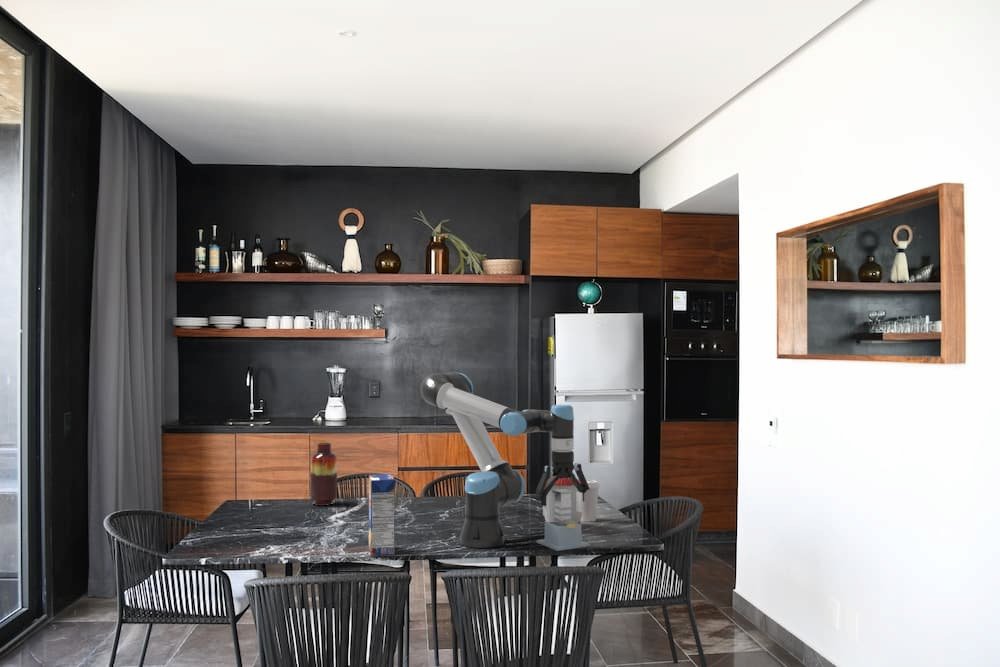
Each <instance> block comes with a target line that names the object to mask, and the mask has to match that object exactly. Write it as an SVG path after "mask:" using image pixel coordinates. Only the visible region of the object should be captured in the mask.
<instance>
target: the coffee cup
mask: <svg viewBox="0 0 1000 667" xmlns="http://www.w3.org/2000/svg"><path fill="white" fill-rule="evenodd" d="M586 481H587V483H588V486H589V490H586V493H584V502H583V513H582V517H581V522H585V521H586V522H588V523H590V522H591V521H592V522H596V521H597V513H598V512H597V511H598V502H599V501H598V500H599V489H600V487H601V486H600V483H599V481H598V480H595V479H586Z"/></svg>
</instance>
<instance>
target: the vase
mask: <svg viewBox="0 0 1000 667" xmlns="http://www.w3.org/2000/svg"><path fill="white" fill-rule="evenodd" d="M337 496H338V456H337V455H336V453H334V452H332V442H328V441H326V442H317V445H316V453H314V454H312V456H311V457H310V499H311V500H312V501H313V502H312V505H313V504H317V505H326V504H331V503H334V504H335V501H334V500H336V499H337Z"/></svg>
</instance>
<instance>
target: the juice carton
mask: <svg viewBox="0 0 1000 667" xmlns="http://www.w3.org/2000/svg"><path fill="white" fill-rule="evenodd" d="M395 509H396V479H395V477H394V475H393V474H391V473H387V474H385V473H384V474H369V475H368V550H370V551H369V554H370V553H371V554H370V556H371V557H378V556H381V557H383V556H395V552H396V551H395V550H396V549H395V535H396V534H395V532H396V531H395V529H396V527H395V526H396V521H395V519H396V514H395V513H396V512H395V511H396V510H395Z"/></svg>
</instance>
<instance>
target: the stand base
mask: <svg viewBox="0 0 1000 667" xmlns="http://www.w3.org/2000/svg"><path fill="white" fill-rule="evenodd" d="M554 524H555V521H552V522H546V521H545V522H544V538H543V539H536V543H537V544H539V545H542V546H544V547H547V548H549V549H551V550H554V551H557V552H559V551H567V550H573V549H580V548H586V547H587V546H588V547H591V544H590V543H588V542H587V541H583V540H582V524H581V523H580V524H578V523H575V522H572V521H571V524H567V526H561V527H560V526H557V525H554ZM588 547H587V548H588Z"/></svg>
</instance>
